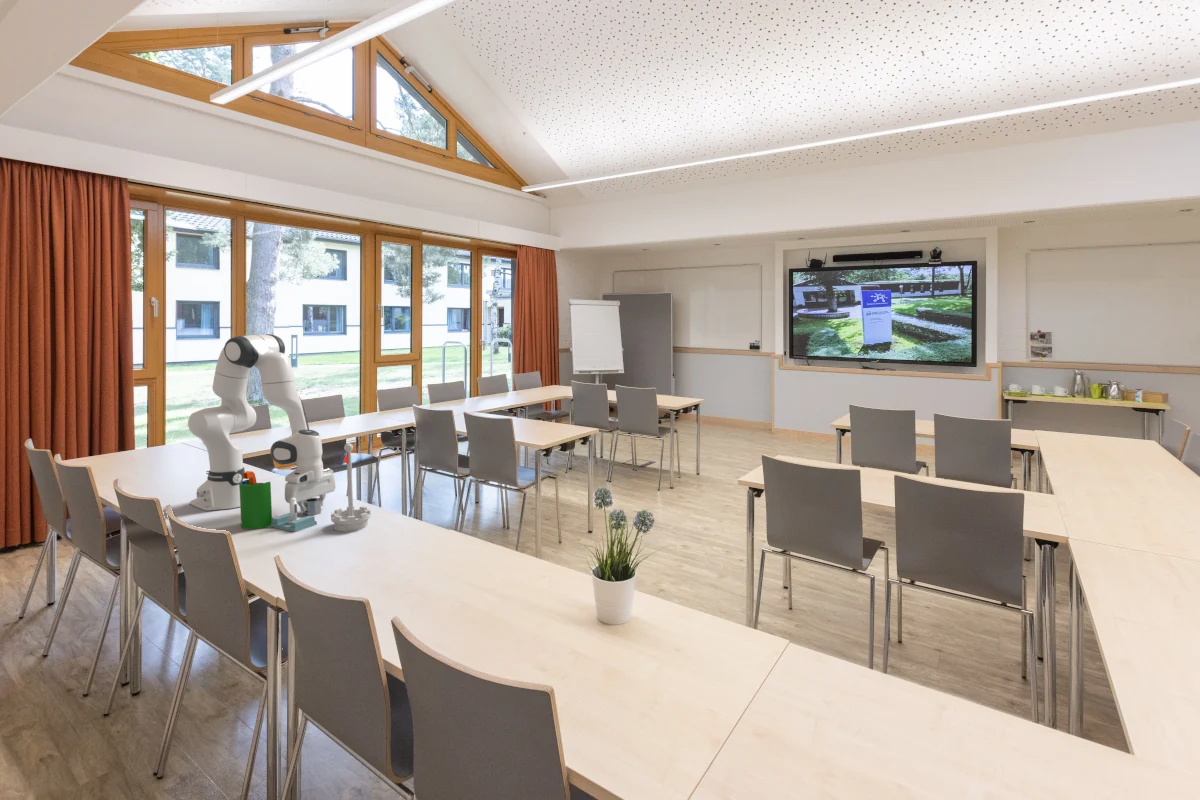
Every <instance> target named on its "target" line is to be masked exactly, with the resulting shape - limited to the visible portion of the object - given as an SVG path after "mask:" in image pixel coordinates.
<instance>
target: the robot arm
mask: <svg viewBox="0 0 1200 800" xmlns="http://www.w3.org/2000/svg"><path fill="white" fill-rule="evenodd" d="M285 352H286V347H285V342H284V340H283V339H282V338H281V337H279V336H277V335H275V334H270V333H268V334H262V333H261V334H260V333H254V334H253V333H252V334H248V335H238V336H233V337H231V338H229V339H228V340H227V341H226V342H225V343H224V346H223V347H222V349H221V351H220V353H219V356H218V358H217V362H216V367H215V370H214V371H215V372H214V377H213V382H212V387H211V389H212V391H213V393H214V394H215V395H216V396H217V397H219V398H221V404H220V405H218V406H212V407H205V408H203V409H200V410H197V411H195V412H192V413H191V414H190V415H189V418H188V420H187V427H188V429H189V431H190V432H191V434H192V435H194V436H195V437H196V438H199V439H200V440H201V441H202V442H203V444H204V446H205V448H206V450H207V454H208V462H209V470H207V471H205V472H206V473H205V474H206V475H207V479H206V481H205V482H203V483H202V484H201V485H199V486H198V487H197V489H196V498H195V499H192V500H190V501H189V505H191V506H194V507H196V508H198V509H201V510H203V511H216V510H217V511H218V510H229V509H235V508H239V507H240V489H239V483H240V482H241V481H244V480H247V479H243V473H244V472H246V470H245V467H244V461H243V460H244V459H243V449H242V448H241V446H240V445H238V444H237V443H234V442H232V440H231V437H230V434H233V433H238V432H242V431H243V432H244V431H246V430H248V429H249V428H252V427H253V426H254V425H256V421H257V412H256V410H255V409H254V407H253V406H251V405H250V404H249V402H248V399H247V389H248V381H249V377H250V370H251V368H253V367H255V368H256V369H258V371H259V374H260V375H259V376H260V383H261V391H262V396H263V397H264V400H266V402H268V404H271V405H272V406H274V407H278V408H280V409H282V410H283V411H284V412H285V413H286V414H287V418H288V421H289V425H290V429H291V435H290V436H288V437H284V438H281V439H278V440H277V441H275V442H273V443H272V445H271V447H270V457H271V459H272V460H273V461H274V462H275V463H276V464H278V465H283V466H284V465H285V466H286V465H290V464H296V468H295V469H294V470H293V471H292V472H290V473H289V474H287V475H285V477H284V481H285V482H286V483H285V486H284V500H285V502H286V503H287V504H289V501H290V499H291V498H295V499H296V504H297V505H298V506H299V508H300V512H301V513H303V512H305V511H307V507H306V506H304V504H303V503H304V500H307V499H310V498H321V507H323V506H324V501H325V499H326V494H330V493H332V492H335V490H336V481H335V476H334V470H333V469H331V468H329V467H328V468H324V462H323V460H322V457H323V444H322V438H321V434H320V433H319V432H318V431H316V430H314V429H310V427H309V426H310V425H309V423H308V418H307V415H306V410H305V407H304V403H303V401H302V398H301V397H300V395H299V393H298V390H297V386H296V380H295V374H294V370H293V366H292V363H291V361H290V358H289V356H288V355H287V354H286V353H285Z"/></svg>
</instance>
